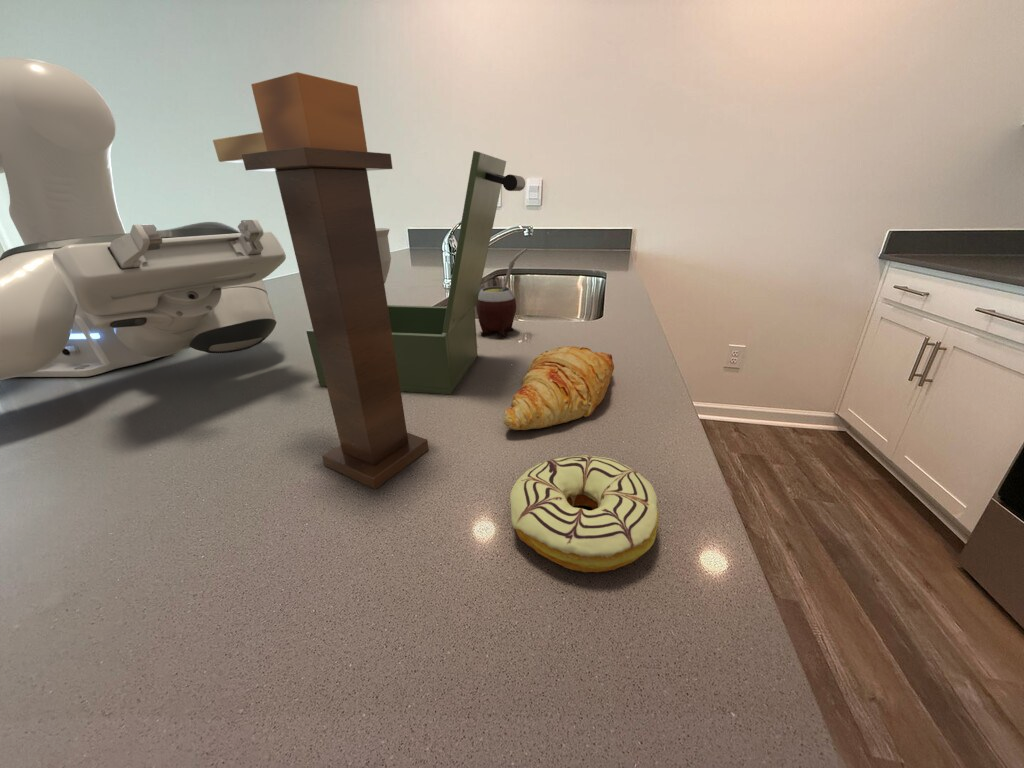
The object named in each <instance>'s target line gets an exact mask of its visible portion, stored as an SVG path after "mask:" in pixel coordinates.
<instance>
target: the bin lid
mask: <svg viewBox="0 0 1024 768" xmlns="http://www.w3.org/2000/svg"><path fill="white" fill-rule="evenodd" d="M506 165H507V161H506V160H504V159H502V158H499V157H495V156H492V155H490V154H486V153H483V152H480V151H477V150H473V151H472V158H471V164H470V168H469V176H468V181H467V187H466V192H465V198H464V204H463V208H462V209H463V210H462V214H461V215H462V216H461V222H460V228H459V234H458V239H457V246H456V251H455V256H454V263H453V269H452V274H451V279H450V286H449V292H448V297H447V303H446V307H447V309H446V315H445V320H444V326H443V333H447V334H448V333H449V332H450V331H451V330H452V329H453V328H454V327H455V326H456V325H457V324H458V323H459V322H460V321H461V320H462V319H463V318H464V317H465V316H466V315H467V314H468V313H469V312H470V311H471V310H472V309H473V308H475V307H477V301H478V296H479V292H480V291H481V287H482V281H483V277H484V271H485V267H486V262H487V258H488V252H489V248H490V244H491V243H490V242H491V238H492V233H493V228H494V224H495V218H496V213H497V209H498V205H499V200H500V194H501V189H502V186H503V188H504V189H505V191H508V192H521V191H523V190H524V189H525V187H526V180H525V178H524V177H523V176H520V175H516V174H506V175H505V170H506Z"/></svg>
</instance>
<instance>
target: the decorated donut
mask: <svg viewBox="0 0 1024 768" xmlns="http://www.w3.org/2000/svg"><path fill="white" fill-rule="evenodd" d="M509 502H510V515H511V517H510V520H511V521H510V522H511V525H512V528H513V529H515V532H516V534H517V536H518V538H519V539H520V540H521V541H522V542H523V543H525V544H526V545H527V546H528V547H530V548H532V549H533V550H534V551H535V552H536V553H537V555H540V556H541V557H544V558H546V559H548V560H549V561H551V562H554V563H555V564H558V565H560V566H562V567H564V568H566V569H568V570H571V571H576V572H582V573H583V574H585V573H602V572H610V571H613V570H617V569H619V568H622V567H625V566H627V565H629V564H632V563H633V562H635V561H637V560H638V559H639V558H640V557H642V556H643V555H644V554H645V553H647V552H648V551H649V550H650V549H651V548H652V546H653V545H654V543H655V540H656V538H657V532H658V526H659V516H660V514H659V509H658V497H657V494H656V491H655V489H654V487H653V485H652V484H651V482H649V480H647V479H646V478H645V477H643V476H642V474H641V473H639V472H638V471H636V470H634V469H633V468H631V467H630V466H628V465H626V464H624V463H621V462H619V461H617V460H616V459H614V458H610V457H603V456H597V455H596V456H594V455H590V454H579V455H569V456H568V455H567V456H561V457H556V458H551V459H548V460H545V461H543V462H540V463H538V464H536V465H535V466H532V467H530V468H529V469H527V470H526V471H525V472H523V473H522V475H520V477H519V478H518V479H517V480H516V481H515V483H514V485H513V486H512V488H511V491H510V495H509ZM579 506H580V507H579ZM583 507H588V508H590V509H592V510H588V509H585V508H583Z"/></svg>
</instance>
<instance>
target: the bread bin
mask: <svg viewBox="0 0 1024 768" xmlns="http://www.w3.org/2000/svg"><path fill="white" fill-rule="evenodd" d="M387 305H388V312H389V318H390V325H391V331H392V338H393V344H394V351H395V357H396V364H397V370H398V377H399V383H400V390H401V392H407V393H408V392H409V393H423V394H437V395H438V394H439V395H452V394H453V392H454V390H455V389H456V387H457V386H458V385H459V383H460V382H461V380H462V379H463V378H464V376H465V375H466V373H468V370H469V369H470V367H471V366H472V365H473V364H474V362H475V360H476V359H477V357H478V341H477V325H476V311H475V309H476V308H475V307H474V308H473V309H472V310H471V311H470V312H469V313H468V314H467V315H466V316H465V317H464V318H463V319H462V320H461V321H460V322H459V323H458V324H457V325H456V326H455V327H454V328H453V329H452V330H451V331H450V332H449V333H448V334H447V333H443V326H444V320H445V315H446V309H447V306H435V305H433V306H432V305H430V306H429V305H399V304H398V305H394V304H392V305H391V304H387ZM306 337H307V340H308V344H309V348H310V352H311V357H312V360H313V365H314V369H315V372H316V377H317V380H318V384H319V386H320V387H327V386H326V381H325V377H324V373H323V369H322V365H321V361H320V356H319V352H318V348H317V344H316V340H315V335H314V331H313V327H311V328H309V329H308V330H306Z"/></svg>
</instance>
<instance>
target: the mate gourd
mask: <svg viewBox="0 0 1024 768" xmlns="http://www.w3.org/2000/svg"><path fill="white" fill-rule="evenodd" d="M527 250H528V248H527V247H525V248H524V249H522V250H521V251H519V252H518V253H517V254H515V256H513V257H512V259H511V260H510V261H509V263H508V269H507V272H506V275H505V279H504V282H503V285H502V286H499V285H496V286H494V285H493V286H486V287H483V288H480V292H479V296H478V301H477V305H476V306H475V307H476V308H475V309H476V314H477V319H478V323H479V326H480V329H481V332H480V336H481V337H487V336H492V335H496V336H498V337H500V339H506V338H507V335H506V333H512V332H514V327H513V325H514V320H515V315H516V312H517V301H516V295H515V292H514V291H513V290H512V289H511V288H510V287H508V286H507V285H508V282H509V279H510V277H511V274H512V270H513V268H514V266H515V265H516V264H515V262H516V261H517V260H518V258H519V257H520V256H522V255H523V254H524V253H525V252H526V251H527Z"/></svg>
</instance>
